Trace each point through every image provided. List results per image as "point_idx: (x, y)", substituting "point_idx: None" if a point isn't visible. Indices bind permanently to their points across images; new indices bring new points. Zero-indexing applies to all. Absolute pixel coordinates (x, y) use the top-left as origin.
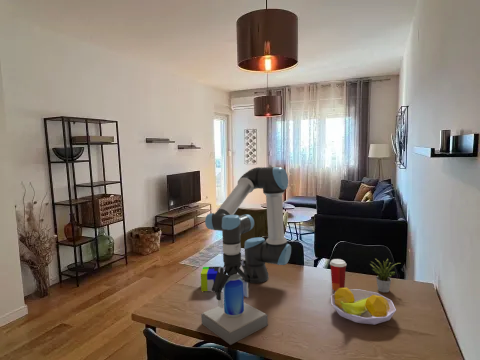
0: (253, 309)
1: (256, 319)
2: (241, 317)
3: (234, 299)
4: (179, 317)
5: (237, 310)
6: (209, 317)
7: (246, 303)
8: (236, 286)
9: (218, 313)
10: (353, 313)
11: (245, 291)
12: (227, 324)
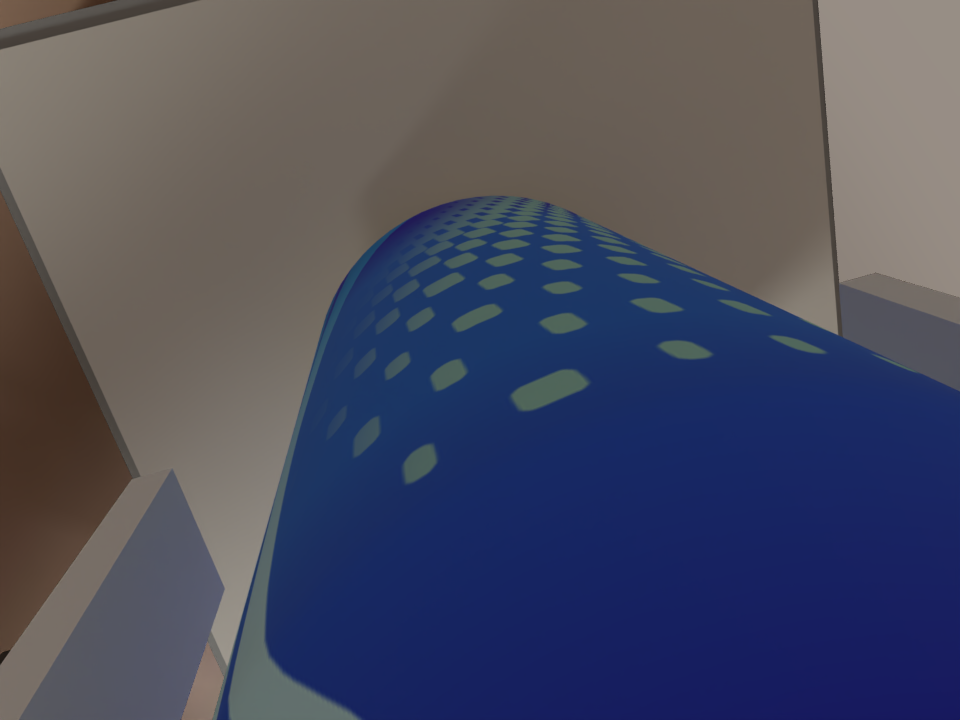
0: (131, 317)
1: (205, 4)
2: (438, 173)
3: (667, 257)
4: None
5: (525, 206)
6: None
7: None
8: (826, 367)
9: None
10: None
11: (153, 594)
12: (733, 87)
